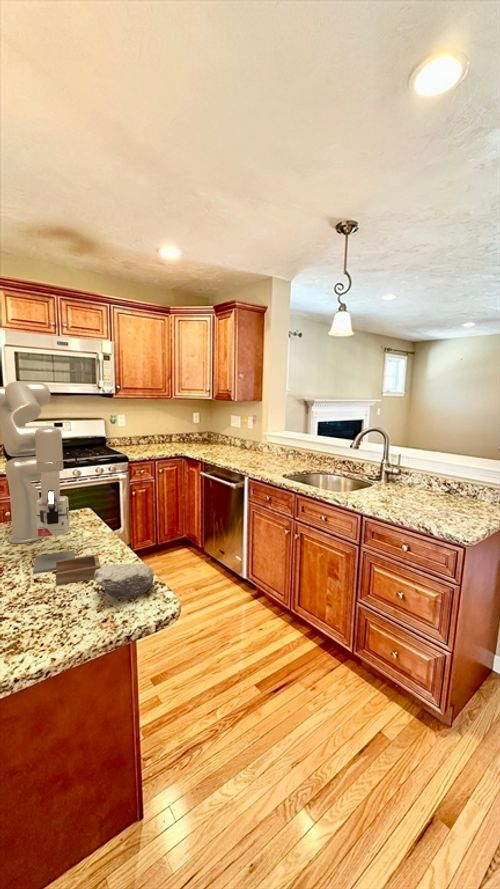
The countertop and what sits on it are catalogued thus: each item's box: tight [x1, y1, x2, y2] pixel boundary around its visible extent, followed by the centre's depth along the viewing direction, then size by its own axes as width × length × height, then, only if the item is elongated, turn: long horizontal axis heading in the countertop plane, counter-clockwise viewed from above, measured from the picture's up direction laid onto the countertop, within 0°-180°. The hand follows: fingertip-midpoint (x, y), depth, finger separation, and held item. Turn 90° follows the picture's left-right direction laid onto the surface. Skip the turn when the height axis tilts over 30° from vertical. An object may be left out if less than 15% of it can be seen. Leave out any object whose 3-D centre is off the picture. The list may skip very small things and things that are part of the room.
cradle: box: [55, 553, 102, 587], centre depth 114 cm, size 10×12×4 cm
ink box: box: [36, 495, 71, 537], centre depth 119 cm, size 8×5×12 cm, turn 104°
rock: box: [93, 562, 155, 600], centre depth 103 cm, size 11×17×10 cm, turn 127°
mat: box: [32, 549, 76, 575], centre depth 122 cm, size 12×12×1 cm
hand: (53, 520), depth 120 cm, fingers closed on ink box, 5 cm apart
